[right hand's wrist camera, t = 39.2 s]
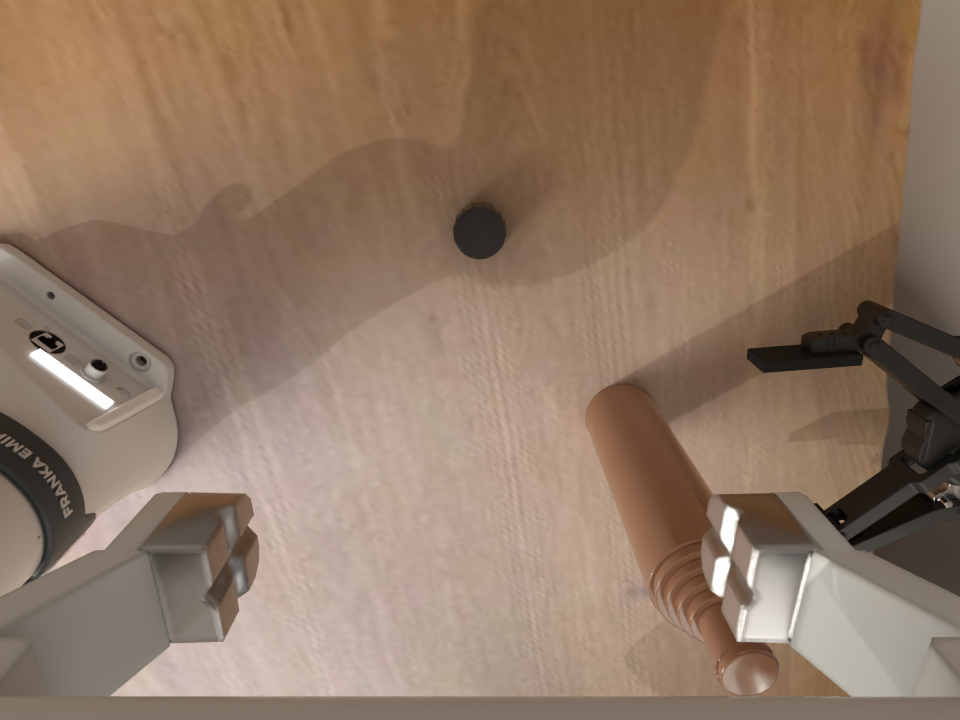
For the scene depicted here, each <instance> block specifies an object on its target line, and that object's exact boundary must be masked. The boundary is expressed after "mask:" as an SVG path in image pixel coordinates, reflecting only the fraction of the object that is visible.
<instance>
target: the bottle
mask: <svg viewBox="0 0 960 720" xmlns="http://www.w3.org/2000/svg"><path fill="white" fill-rule="evenodd" d="M586 423H587V427H588V430H589V432H590V435H591V438H592V441H593V443H594V446H595V449H596V452H597V454H598V457H599V460H600V462H601V465H602V468H603V471H604V473H605V476H606V479H607V482H608V484H609V487H610V490H611V492H612V495H613V498H614V501H615V503H616V506H617V509H618V511H619V514H620V517H621V520H622V522H623V525H624V528H625V531H626V533H627V536H628V539H629V541H630V544H631V547H632V550H633V552H634V555H635V558H636V560H637V563H638V566H639V569H640V571H641V574H642V577H643V580H644V582H645V585H646V588H647V590H648V593H649V596H650V599H651V601H652V603H653V605H654V606H655V608H656V609H657V610H658V611H659V612H660V613H661V614H662V616H663V617H664V618H665V619H666V620H667V621H668V622H670V623H671V624H672V625H674V626H676V627H678V628H679V629H681V630H682V631H684V632H686V633H688V634H689V635H691V636H692V637H694V638H697V639H698V640H699V641H701V642H702V643H704V645H705V647H706V649H707V651H708V654H709V656H710V658H711V661H712V663H713V665H714V667H715V674H716V676H717V679H718V680H719V682H720V683H721V684H722V685H723V686H724V688H725V689H726V690H728V691H729V692H731V693H733V694H735V695H740V696H751V695H756V694H759V693H761V692H763V691H765V690H767V689H768V688H770V687H771V686H772V685H773V684H774V683H775V681H776V679H777V677H778V671H779V664H778V661H777V659H776V657H775V656H774V655H773V654H772V653H773V652H772V650H771V649H770V648H769V646H767V645H766V643H765V642H737V641H736V639H735V637H734V635H733V633H732V631H731V629H730V627H729V625H728V623H727V621H726V619H725V617H724V615H723V613H722V612H721V607H722V601H723V599H722V598H721V597H720V596H718V595H717V594H715V593H714V592H712V591H711V590H710V588H709V586H708V583H707V581H706V579H705V576H704V572H703V569H702V561H701V546H702V538H703V535H704V534H705V533H706V532H707V531H708V530H709V529H710V528H711V527H712V526H713V525H712V524H711V522H710V520H709V518H708V517H707V515H706V513H707V507H708V502H709V500H710V498H711V496H712V494H713V493H712V492H711V490H710V489H709V487H708V485H707V484H706V482H705V481H704V479H703V478H702V476H701V475H700V473H699V472H698V470H697V468H696V467H695V465H694V464H693V462H692V461H691V459H690V458H689V456H688V455H687V453H686V451H685V450H684V448H683V447H682V445H681V444H680V442H679V441H678V439H677V438H676V436H675V434H674V433H673V431H672V430H671V428H670V427H669V425H668V424H667V422H666V421H665V419H664V417H663V416H662V414H661V413H660V411H659V410H658V408H657V407H656V405H655V404H654V402H653V400H652V399H651V397H650V396H649V395H648V394H647V393H646V392H645V391H644V390H642V389H640V388H638V387H636V386H633V385H627V384H620V385H614V386H611V387H608V388H606V389H604V390H602V391H601V392H600V393H598V394H597V395H596V396H595V397H594V398H593V400H592V401H591V403H590V404H589V406H588V409H587V413H586Z"/></svg>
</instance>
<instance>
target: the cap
mask: <svg viewBox="0 0 960 720" xmlns="http://www.w3.org/2000/svg"><path fill="white" fill-rule="evenodd" d="M453 230H454V240H455V242H456V245H457V246H458V248H459V249H460V251H461V252H463V253H464V254H465V255H467V256H469V257H471V258H474V259H485V258H489V257H491V256H493V255H494V254H496V253H497V252H498V251H499V250H500V249H501V247H502V246H503V243H504V241H505V236H506V229H505V221H503V218H502V216H501V213H500V212H498V211H497V210H496V209H495V208H494V207H493V206H491V205H489V204H485V203H483V202H482V203H474V204H473V203H472V204H471V205H469V206H467V207H465V208H463V210H462V211H461V212H460V213H459V215H457V218H456V222H455V225H454V228H453Z"/></svg>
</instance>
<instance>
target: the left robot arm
mask: <svg viewBox="0 0 960 720" xmlns="http://www.w3.org/2000/svg"><path fill="white" fill-rule="evenodd" d="M857 313H858V315H859V316H858V318H857V320H856V321H855V323H854V324H851V323H844V324H842V325H841V326H840V327H839V329H838V330H828V331H819V332H818V331H815V332H808V333H806V334H804V335H802V339H801V345H789V346H776V347H763V348H751V349H748V351H747V359H748V360H749V361H750V362H752V363H753V364H754V365H755V366H756V367H757V368H759V369H760V370H761V371H762V372H763V373H768V372H781V371H794V370H807V369H820V368H833V367H846V366H859V365H862V361H863V355H865V356H866V357H867V358H868V359H870V360H871V361H872V362H873V363H875V364H876V365H877V366H878V367H880V368H881V369H882V370H883V371H885V372H886V373H887V374H888V375H890V376H891V377H892V378H894V379H895V380H896V381H897V382H899V383H900V384H901V385H902V386H903V387H904V388H905V389H906V390H907V391H909V392H910V393H911V394H912V395H914V396H915V397H916V398H917V399H919V400H920V401H918V402H917V403H916V404H915V406H914V407H913V409H908V412H907V418H906V421H907V429H906V431H905V433H904V435H903V438H902V443H901V447H903V448H904V449H903V450H901V451H900V452H898V453H897V454H896V455H894V456H893V457H891V458H890V459H889V465H888V466H887V467H886V468H885V469H883V470H882V471H880V472H879V473H877V474H876V475H875V476H873V477H872V478H870V479H869V480H867V481H866V482H864V483H863V484H862V485H860V486H859V487H857V488H856V489H854V490H853V491H852V492H850V493H849V494H847V495H846V496H844V497H843V498H842V499H840V500H839V501H837V502H836V503H834V504H833V505H831V506H830V507H829V508H827V509H826V510H823V509H822V508H821V507H820V506H819V505H818V504H817V503H814V505H815V506H816V507H817V508H818V509H819V511H820V512H821V513H822V514H823V515H824V516H825V517H826V518H827V519H828V520H829V522H830V523H831V524H832V525H833V526H834V527H835V528H836V529H837V530H838V531H839V533H840V534H841V535H842V536H843V537H844V538H845V539H846V540H847V541H848V542H849V544H850V545H851V546H852V547H853V548H854V549H855V550H863V551H867V552H871V551H873V550H876V549H878V548H880V547H883V546H885V545H887V544H889V543H892V542H894V541H896V540H899V539H901V538H903V537H906V536H908V535H910V534H913V533H915V532H917V531H919V530H922V529H924V528H926V527H929V526H931V525H933V524H935V523H938V522H943V521H949V520H955V519H960V376H958V377H956V378H954V379H953V380H951V381H950V382H948V383H946V384H945V385H943V386H942V387H940V386H938V385H937V384H936V383H935V382H933V381H932V380H931V379H930V378H928V377H927V376H926V375H925V374H924V373H922V372H921V371H920V370H919V369H917V368H916V367H915V366H914V365H913V364H911V363H910V362H909V361H908V360H906V359H905V358H904V357H903V356H901V355H900V354H899V353H898V352H897V351H895V350H894V349H893V348H892V347H890V346H889V345H888V344H887V343H886V342H884V341H883V340H882V339H881V337H882V335H883V334H884V332H885V330H886V329H888V330H891V331H893V332H895V333H898V334H900V335H903V336H905V337H907V338H910V339H912V340H914V341H917V342H919V343H922V344H924V345H926V346H929V347H931V348H933V349H936V350H938V351H941V352H943V353H945V354H948V355H950V356H952V357H953V358H954V359H955V362H956V364H957V365H958V366H960V336H952V335H950V334H947V333H945V332H943V331H940V330H938V329H935V328H933V327H931V326H928V325H926V324H924V323H921V322H919V321H917V320H914V319H912V318H910V317H907V316H905V315H903V314H900V313H898V312H896V311H893V310H891V309H889V308H886V307H884V306H882V305H879V304H877V303H874V302H872V301H868V300H867V301H863V302H862V303H860V305H859V306H858V308H857ZM859 352H861V353H862V354H861V353H859ZM915 462H916V463H917V464H918V465H920V466H921V467H923V468H924V469H926V470H927V472H925V473H923V474H918V473H917V472H915V471H914V470H913V469H912V468H910V466H911V465H912V464H914V463H915ZM840 520H844V521H845V522H843V523H842V524H841V523H840V522H839V521H840Z"/></svg>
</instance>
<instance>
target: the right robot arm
mask: <svg viewBox="0 0 960 720" xmlns="http://www.w3.org/2000/svg"><path fill="white" fill-rule="evenodd" d="M141 356H143V357H144V358H145V359H146V360H147V363H145V362H143V361H142V360H141ZM174 374H175V370H174V365H173V362H172V361H171V360H170V358H169V357H168V356H166V355H165V354H164V353H162V352H161V351H160V350H158V349H157V348H155V347H154V346H153V345H151V344H150V343H148V342H147V341H146V340H144V339H143V338H141V337H140V336H139V335H137V334H136V333H134V332H133V331H132V330H130V329H129V328H128V327H126V326H125V325H123V324H122V323H121V322H119V321H118V320H116V319H115V318H114V317H112V316H111V315H109V314H108V313H107V312H105V311H104V310H102V309H101V308H100V307H98V306H97V305H95V304H94V303H93V302H91V301H90V300H89V299H87V298H86V297H84V296H83V295H82V294H80V293H79V292H77V291H76V290H75V289H73V288H72V287H70V286H69V285H68V284H66V283H65V282H63V281H62V280H61V279H59V278H58V277H56V276H55V275H54V274H52V273H51V272H50V271H48V270H47V269H45V268H44V267H43V266H41V265H40V264H38V263H37V262H36V261H34V260H33V259H31V258H30V257H29V256H27V255H26V254H24V253H23V252H22V251H20V250H19V249H17V248H15V247H14V246H12V245H10V244H6V243H0V720H960V597H959V596H957V595H955V594H953V593H951V592H949V591H947V590H945V589H943V588H941V587H939V586H937V585H935V584H933V583H931V582H929V581H926V580H924V579H922V578H920V577H918V576H916V575H914V574H912V573H910V572H908V571H906V570H904V569H902V568H900V567H898V566H896V565H894V564H892V563H890V562H888V561H886V560H884V559H881V558H879V557H877V556H875V555H873V554H871V553H869V552H867V551H863V550H855V549H854V548H853V547H852V546H851V545H850V544H849V542H848V541H847V540H846V539H845V538H844V537H843V536H842V535H841V534H840V533H839V531H838V530H837V529H836V528H835V527H834V526H833V525H832V524H831V523H830V522H829V520H828V519H827V518H826V517H825V516H824V515H823V514H822V513H821V512H820V511H819V509H818V508H817V507H816V506H815V505H814V504H813V503H812V502H811V501H810V500H809V498H808V497H807V496H806V495H804V494H802V493H800V492H781V493H761V494H712V496H711V498H710V500H709V502H708V507H707V513H706V515H707V517H708V518H709V520H710V522H711V524H712V525H713V526H712V527H711V528H710V529H709V530H708V531H707V532H706V533H705V534H704V535H703V538H702V546H701V561H702V569H703V572H704V576H705V579H706V581H707V583H708V586H709V588H710V590H711V591H712V592H714V593H715V594H717V595H718V596H720V597H721V598H722V599H723V601H722V607H721V612H722V613H723V615H724V617H725V619H726V621H727V623H728V625H729V627H730V629H731V631H732V633H733V635H734V637H735V639H736V641H737V642H766V643H790V646H791V647H792V648H793V649H795V650H796V651H797V652H798V653H799V654H801V655H802V656H803V657H804V658H805V659H807V660H808V661H809V662H810V663H811V664H813V665H814V666H815V667H816V668H817V669H819V670H820V671H821V672H822V673H824V674H825V675H826V676H827V677H828V678H830V679H831V680H832V681H833V682H834V683H836V684H837V685H838V686H839V687H840V688H842V689H843V690H844V691H845V692H846V693H848V694H849V695H850V696H851V697H407V696H371V697H115V696H110V695H111V694H113V693H114V692H115V691H116V690H117V689H119V688H120V687H121V686H122V685H123V684H125V683H126V682H127V681H128V680H129V679H131V678H132V677H133V676H134V675H136V674H137V673H138V672H139V671H140V670H142V669H143V668H144V667H145V666H146V665H148V664H149V663H150V662H151V661H152V660H154V659H155V658H156V657H157V656H158V655H160V654H161V653H162V652H163V651H165V650H166V649H167V648H168V647H169V646H170V643H193V642H223V641H224V639H225V637H226V635H227V633H228V631H229V629H230V627H231V625H232V623H233V621H234V619H235V617H236V615H237V613H238V612H239V607H238V601H237V599H238V598H239V597H240V596H242V595H243V594H245V593H246V592H248V591H249V590H250V588H251V585H252V583H253V581H254V579H255V576H256V572H257V567H258V563H259V544H258V537H257V535H256V534H255V533H254V532H253V531H252V530H251V529H250V528H249V527H248V526H247V525H248V524H249V522H250V520H251V518H252V517H253V515H254V513H253V508H252V503H251V498H250V497H248V496H247V495H246V494H242V493H193V492H191V493H187V492H162V493H159V494H155V495H154V496H153V497H152V498H151V500H150V501H149V502H148V503H147V504H146V505H145V506H144V507H143V508H142V509H141V511H140V512H139V513H138V514H137V515H136V516H135V517H134V518H133V519H132V520H131V522H130V523H129V524H128V525H127V526H126V527H125V528H124V529H123V530H122V531H121V533H120V534H119V535H118V536H117V537H116V538H115V539H114V540H113V541H112V542H111V544H110V545H109V546H108V547H107V548H106V549H105V550H97V551H93V552H91V553H89V554H87V555H85V556H83V557H80V558H78V559H76V560H74V561H72V562H70V563H68V564H66V565H64V566H62V567H60V568H58V569H56V570H54V571H52V572H50V573H48V574H46V573H47V572H48V571H49V570H50V569H51V568H52V567H53V566H55V565H56V564H57V563H58V562H59V561H60V560H61V559H62V558H63V557H64V556H65V555H66V554H67V553H68V552H69V551H70V550H71V549H72V548H73V547H74V545H75V544H76V543H77V542H78V541H79V540H80V539H81V538H82V537H83V536H84V535H85V534H86V533H85V531H86V530H87V529H88V528H89V527H90V526H91V525H92V523H93V522H94V520H95V519H96V517H98V516H99V515H100V514H102V513H103V512H104V511H106V510H107V509H108V508H110V507H111V506H112V505H114V504H115V503H117V502H118V501H120V500H121V499H123V498H125V497H126V496H128V495H130V494H131V493H133V492H135V491H137V490H140V489H142V488H144V487H146V486H148V485H150V484H152V483H153V482H154V481H156V480H157V479H158V478H159V477H160V476H161V475H162V474H163V473H164V472H165V471H166V470H167V468H168V467H169V466H170V464H171V462H172V460H173V458H174V455H175V452H176V448H177V443H178V426H177V420H176V416H175V412H174V408H173V405H172V399H171V392H172V388H173V382H174ZM44 574H46V575H44ZM43 575H44V576H43ZM41 576H42V577H41ZM39 577H40V578H39Z"/></svg>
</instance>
